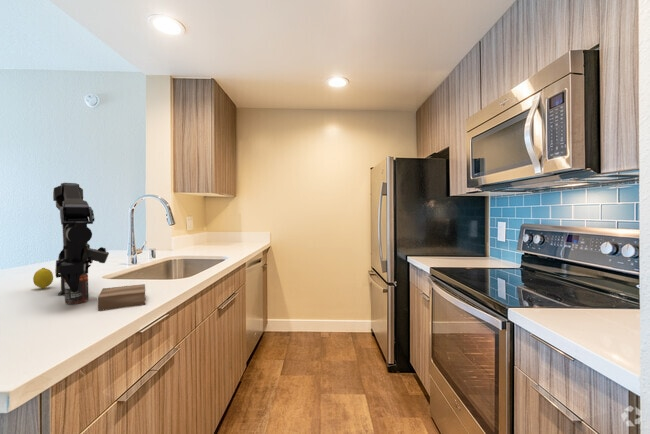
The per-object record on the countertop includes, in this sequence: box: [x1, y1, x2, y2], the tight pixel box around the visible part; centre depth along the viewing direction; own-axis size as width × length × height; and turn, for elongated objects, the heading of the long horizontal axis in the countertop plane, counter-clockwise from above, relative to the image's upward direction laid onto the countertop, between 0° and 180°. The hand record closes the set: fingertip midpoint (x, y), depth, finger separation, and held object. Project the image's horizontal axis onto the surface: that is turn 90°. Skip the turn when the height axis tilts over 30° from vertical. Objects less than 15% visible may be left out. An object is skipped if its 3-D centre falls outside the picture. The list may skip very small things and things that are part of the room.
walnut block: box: [97, 283, 146, 312], centre depth 98 cm, size 12×12×4 cm
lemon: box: [32, 267, 54, 290], centre depth 114 cm, size 6×6×8 cm
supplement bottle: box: [64, 272, 89, 305], centre depth 98 cm, size 6×6×11 cm
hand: (76, 289), depth 98 cm, fingers open, 6 cm apart
